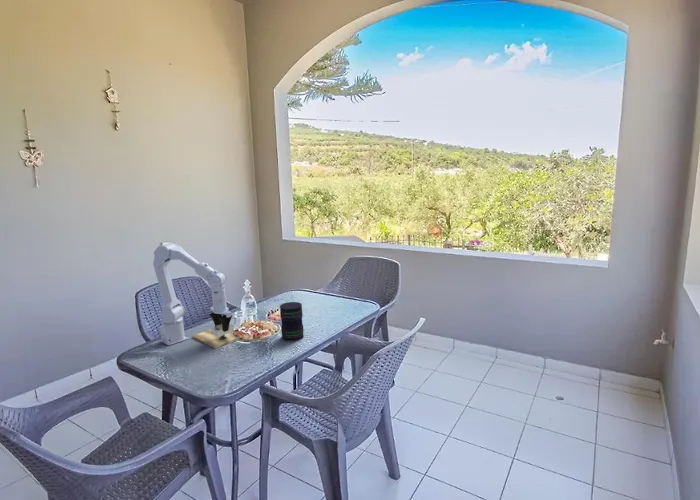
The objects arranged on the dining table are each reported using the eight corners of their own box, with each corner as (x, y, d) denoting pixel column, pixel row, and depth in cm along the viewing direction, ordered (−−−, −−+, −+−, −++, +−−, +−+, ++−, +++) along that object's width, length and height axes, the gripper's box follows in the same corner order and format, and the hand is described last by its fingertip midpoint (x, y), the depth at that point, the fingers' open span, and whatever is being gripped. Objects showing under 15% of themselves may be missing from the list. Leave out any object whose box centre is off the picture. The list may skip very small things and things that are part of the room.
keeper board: (214, 348, 186) (213, 337, 185) (192, 337, 199) (191, 327, 198) (242, 338, 196) (242, 327, 195) (219, 328, 209) (218, 318, 208)
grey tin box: (217, 337, 189) (217, 330, 188) (211, 333, 193) (210, 327, 192) (233, 331, 194) (233, 325, 194) (227, 328, 198) (226, 322, 198)
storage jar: (277, 338, 194) (274, 306, 191) (291, 331, 202) (289, 300, 199) (294, 343, 188) (292, 310, 185) (308, 335, 196) (306, 303, 193)
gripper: (236, 300, 189) (239, 330, 191) (218, 295, 198) (221, 323, 201) (221, 304, 184) (224, 335, 186) (204, 298, 193) (207, 327, 196)
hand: (222, 329), depth 193 cm, fingers closed on grey tin box, 6 cm apart
